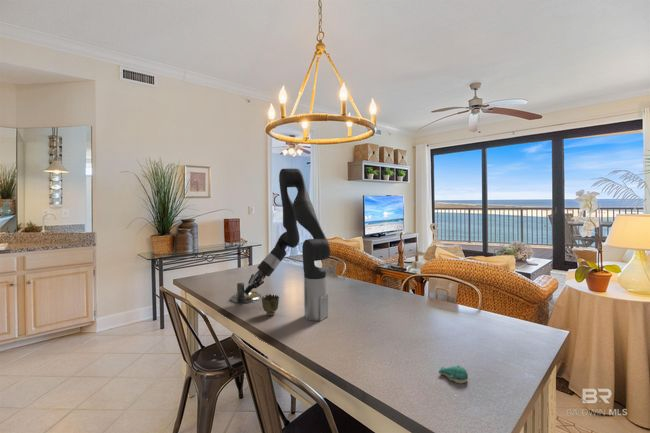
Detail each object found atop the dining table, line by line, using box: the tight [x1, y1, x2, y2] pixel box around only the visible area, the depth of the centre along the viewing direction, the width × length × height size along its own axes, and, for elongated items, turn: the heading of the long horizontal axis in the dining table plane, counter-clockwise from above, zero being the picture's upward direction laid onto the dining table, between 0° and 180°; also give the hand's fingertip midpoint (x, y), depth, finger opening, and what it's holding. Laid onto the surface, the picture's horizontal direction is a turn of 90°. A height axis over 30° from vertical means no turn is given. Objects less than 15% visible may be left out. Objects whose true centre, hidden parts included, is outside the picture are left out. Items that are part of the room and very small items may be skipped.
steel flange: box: [230, 292, 262, 304], centre depth 157 cm, size 15×15×3 cm
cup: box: [261, 293, 280, 317], centre depth 134 cm, size 8×7×8 cm
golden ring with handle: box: [233, 282, 259, 304], centre depth 153 cm, size 17×12×9 cm
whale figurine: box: [438, 365, 469, 384], centre depth 85 cm, size 6×7×4 cm
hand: (245, 293), depth 147 cm, fingers closed
